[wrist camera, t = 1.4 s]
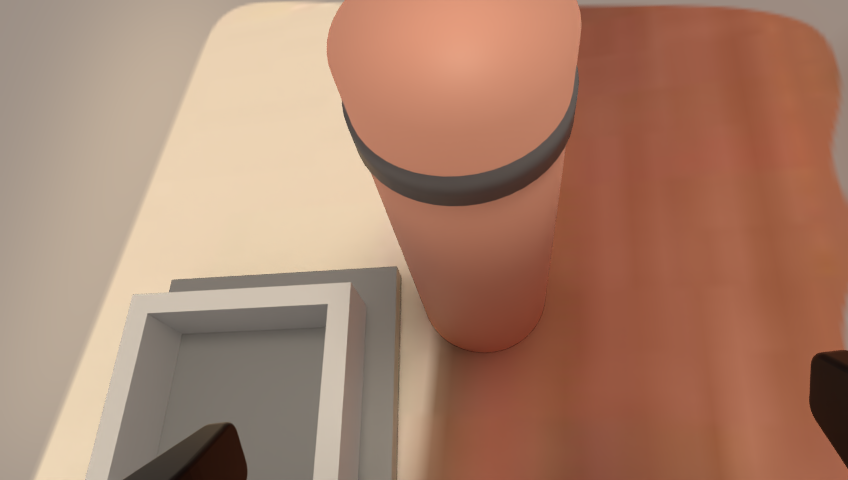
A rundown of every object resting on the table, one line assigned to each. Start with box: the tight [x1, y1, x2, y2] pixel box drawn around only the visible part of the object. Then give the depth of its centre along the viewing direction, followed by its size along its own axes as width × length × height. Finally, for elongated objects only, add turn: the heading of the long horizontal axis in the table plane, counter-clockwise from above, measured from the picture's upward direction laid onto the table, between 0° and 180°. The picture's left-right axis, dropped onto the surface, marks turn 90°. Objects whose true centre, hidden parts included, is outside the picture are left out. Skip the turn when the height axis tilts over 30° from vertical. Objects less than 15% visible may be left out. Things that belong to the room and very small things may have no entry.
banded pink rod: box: [327, 0, 581, 353], centre depth 17 cm, size 5×5×14 cm
